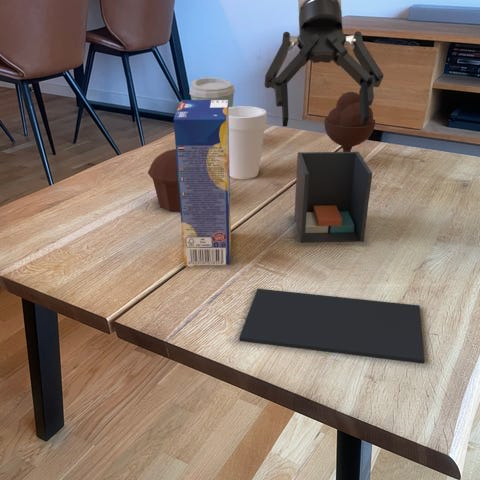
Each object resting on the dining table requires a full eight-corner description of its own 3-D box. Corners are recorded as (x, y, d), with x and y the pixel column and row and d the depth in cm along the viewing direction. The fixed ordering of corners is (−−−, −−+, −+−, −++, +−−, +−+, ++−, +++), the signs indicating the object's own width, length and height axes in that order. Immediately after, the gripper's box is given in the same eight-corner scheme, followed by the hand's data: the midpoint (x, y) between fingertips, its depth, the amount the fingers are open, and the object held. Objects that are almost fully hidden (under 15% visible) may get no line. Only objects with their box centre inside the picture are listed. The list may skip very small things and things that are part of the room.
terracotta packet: (313, 212, 97) (313, 205, 97) (335, 211, 97) (336, 205, 97) (317, 226, 92) (318, 219, 92) (341, 225, 92) (342, 219, 92)
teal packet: (324, 218, 98) (325, 211, 97) (347, 217, 98) (348, 211, 97) (330, 232, 93) (330, 226, 92) (353, 232, 93) (354, 225, 92)
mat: (418, 310, 74) (419, 305, 74) (423, 365, 65) (424, 359, 64) (257, 293, 78) (257, 288, 78) (239, 342, 68) (239, 337, 68)
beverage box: (230, 236, 93) (228, 99, 81) (229, 268, 84) (226, 119, 72) (190, 236, 93) (181, 99, 81) (184, 268, 84) (173, 119, 72)
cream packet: (300, 218, 98) (300, 212, 97) (322, 218, 98) (323, 211, 97) (304, 233, 93) (304, 226, 92) (327, 232, 93) (328, 226, 92)
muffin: (153, 218, 100) (147, 164, 94) (148, 196, 109) (143, 145, 103) (218, 212, 102) (216, 158, 96) (208, 191, 111) (206, 140, 105)
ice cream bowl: (310, 164, 124) (315, 93, 115) (342, 153, 130) (348, 85, 121) (348, 176, 117) (356, 102, 109) (380, 164, 123) (389, 93, 115)
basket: (294, 219, 99) (297, 152, 92) (351, 218, 99) (358, 151, 92) (300, 245, 90) (305, 174, 84) (363, 244, 90) (372, 173, 84)
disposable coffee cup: (245, 146, 135) (245, 80, 127) (213, 157, 129) (211, 88, 120) (214, 138, 141) (212, 74, 133) (183, 147, 135) (178, 81, 126)
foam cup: (231, 185, 113) (230, 120, 106) (214, 171, 120) (212, 109, 113) (272, 178, 116) (274, 114, 109) (254, 165, 123) (254, 104, 116)
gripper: (384, 26, 102) (392, 132, 98) (249, 27, 102) (251, 134, 98) (396, -5, 95) (405, 108, 91) (250, -4, 94) (252, 110, 90)
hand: (325, 122), depth 94 cm, fingers open, 13 cm apart
